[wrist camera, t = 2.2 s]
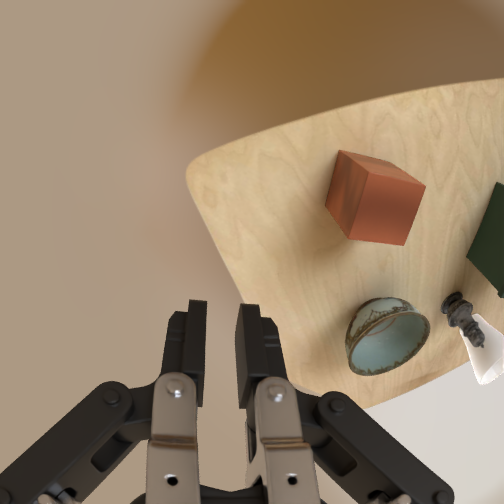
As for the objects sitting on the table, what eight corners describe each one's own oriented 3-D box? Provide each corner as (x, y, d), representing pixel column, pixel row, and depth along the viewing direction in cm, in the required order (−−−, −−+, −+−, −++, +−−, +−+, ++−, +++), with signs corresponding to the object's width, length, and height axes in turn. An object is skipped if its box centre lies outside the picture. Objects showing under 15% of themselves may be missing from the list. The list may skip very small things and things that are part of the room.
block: (339, 149, 32) (368, 171, 25) (390, 162, 33) (426, 186, 26) (324, 205, 36) (347, 239, 29) (374, 213, 37) (403, 246, 30)
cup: (486, 296, 49) (520, 341, 37) (486, 322, 54) (515, 363, 42) (449, 324, 51) (480, 373, 40) (452, 347, 56) (478, 391, 45)
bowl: (318, 311, 45) (332, 352, 38) (393, 262, 41) (419, 297, 34) (353, 350, 51) (367, 386, 44) (416, 310, 47) (436, 343, 41)
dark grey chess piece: (467, 289, 46) (501, 332, 36) (456, 312, 50) (486, 355, 39) (446, 292, 46) (480, 339, 36) (435, 316, 49) (465, 363, 39)
